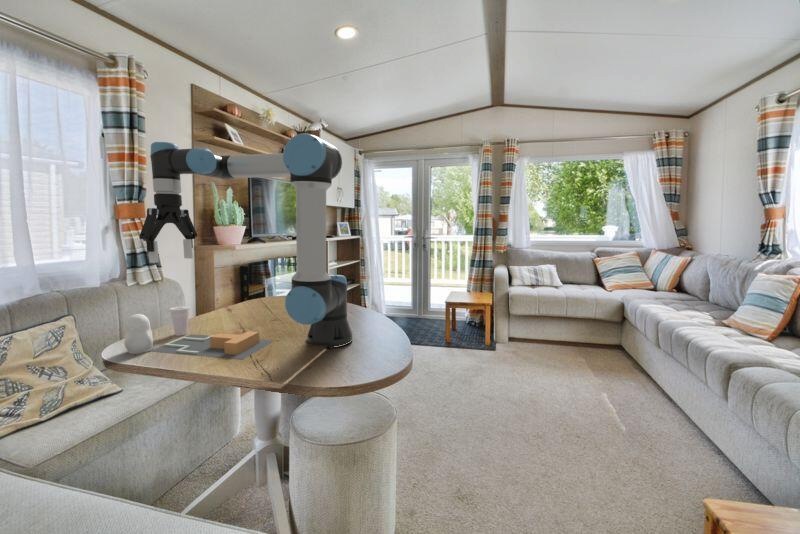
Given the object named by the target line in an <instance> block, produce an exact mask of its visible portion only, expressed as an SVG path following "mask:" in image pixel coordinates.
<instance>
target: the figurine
mask: <svg viewBox="0 0 800 534" xmlns="http://www.w3.org/2000/svg"><path fill="white" fill-rule="evenodd" d="M150 322H151V321H150V319H149V318H148V317H147V316H146V315H144V314H142V313H136V314H132V315H130V316H129V317H128V318H127V319H126V322H125V335H124V346H125V347H124V348H125V349H126V350H127V352H128V353H129V354H130V355H138V354H145V353H148V351H150V350H153V344H154V341H153V338H154V337H153V332H152V329H151V323H150Z"/></svg>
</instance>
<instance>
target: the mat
mask: <svg viewBox="0 0 800 534" xmlns="http://www.w3.org/2000/svg"><path fill="white" fill-rule="evenodd" d="M209 336H210V335H206V334H195V333H192V334H189V335H188V334H187V336H185V337H190V338H203V339H204V338H207V337H209ZM275 341H276V340H274V339H260V338H259V343H257V344H256V345H254V346H252V347H250V348H248V349H247V350H245V351H243V352H241V353H239V354H238V355H232V354H225V349H220V348H210V339H209V340H206V341H195V340H181V341H179V342H176V343H174V344H176V345H189V346H190V348H188V349H186V350H189V351H199V354H189V353H178V352H176V350H179V349H181V348H179V347H167V346H164V344H162V345H160V346H158V347H155V348H152V350H150V351H148V352H147V353H163V354H172V355H173V354H174V355H182V356H183V355H184V356H185V355H186V356H195V357H196V356H197V357H206V358H207V357H208V358H217V359H218V358H220V359H231V360H244V359H246V358H248V357H250V356H251V355H253V354H255V353H257V352H258V351H260V350H262V349H264V348H266V346H269V345H271V344H272V343H274V342H275Z"/></svg>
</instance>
